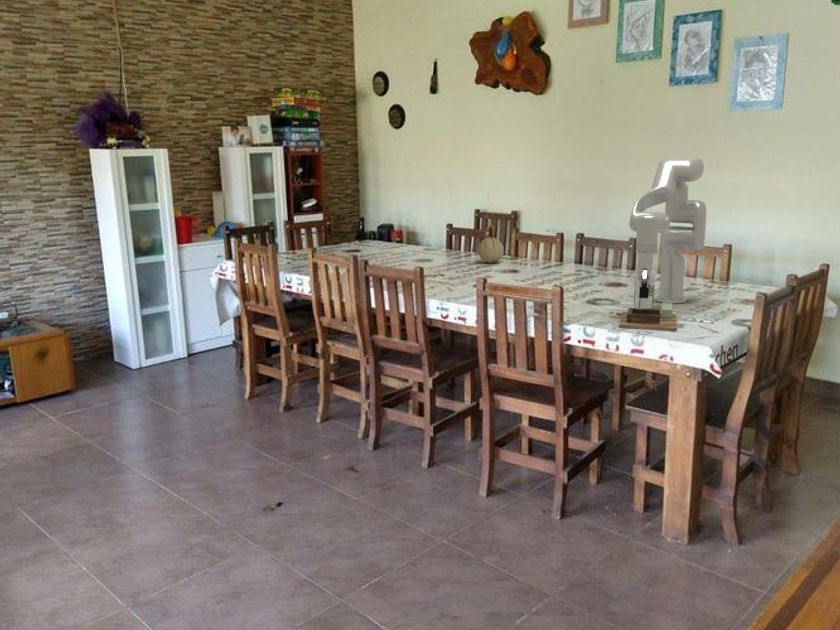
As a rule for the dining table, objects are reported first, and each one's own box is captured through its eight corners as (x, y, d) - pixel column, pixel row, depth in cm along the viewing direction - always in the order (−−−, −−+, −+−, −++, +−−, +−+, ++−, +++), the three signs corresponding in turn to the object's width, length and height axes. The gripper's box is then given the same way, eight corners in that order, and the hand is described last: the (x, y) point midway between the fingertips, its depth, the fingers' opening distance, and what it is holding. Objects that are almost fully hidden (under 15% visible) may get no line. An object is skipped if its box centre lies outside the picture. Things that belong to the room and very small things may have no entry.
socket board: (622, 314, 288) (623, 304, 287) (676, 317, 281) (676, 306, 280) (619, 327, 267) (619, 316, 266) (676, 331, 261) (677, 319, 260)
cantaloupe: (493, 265, 405) (493, 239, 402) (472, 263, 415) (472, 237, 412) (509, 262, 416) (509, 236, 412) (488, 260, 426) (488, 234, 422)
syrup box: (648, 306, 276) (650, 268, 272) (653, 309, 270) (655, 271, 267) (633, 306, 276) (635, 268, 272) (638, 310, 270) (640, 271, 267)
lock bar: (661, 309, 287) (661, 302, 287) (672, 310, 286) (672, 302, 286) (660, 317, 275) (661, 309, 275) (672, 317, 274) (672, 310, 274)
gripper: (636, 245, 277) (634, 290, 281) (634, 251, 261) (632, 300, 265) (657, 245, 275) (655, 291, 279) (656, 252, 258) (654, 301, 263)
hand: (644, 295), depth 272 cm, fingers closed on syrup box, 7 cm apart
